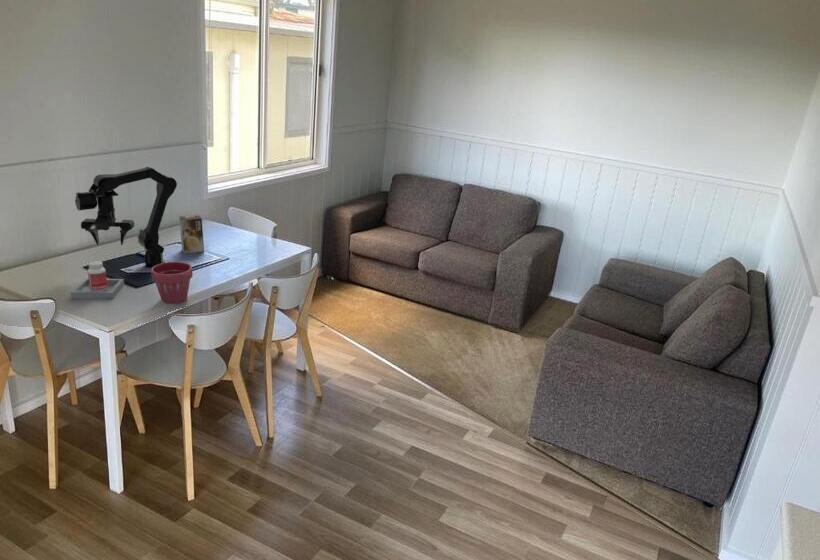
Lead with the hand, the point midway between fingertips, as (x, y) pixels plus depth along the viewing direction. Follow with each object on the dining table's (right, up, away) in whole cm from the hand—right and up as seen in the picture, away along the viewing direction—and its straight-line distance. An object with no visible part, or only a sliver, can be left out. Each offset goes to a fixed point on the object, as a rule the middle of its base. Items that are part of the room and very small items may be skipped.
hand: (110, 244), depth 251 cm
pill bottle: (+3, -18, -15) cm, 24 cm away
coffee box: (+21, -1, +36) cm, 42 cm away
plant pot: (+33, -22, -17) cm, 43 cm away
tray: (+3, -19, -15) cm, 24 cm away
